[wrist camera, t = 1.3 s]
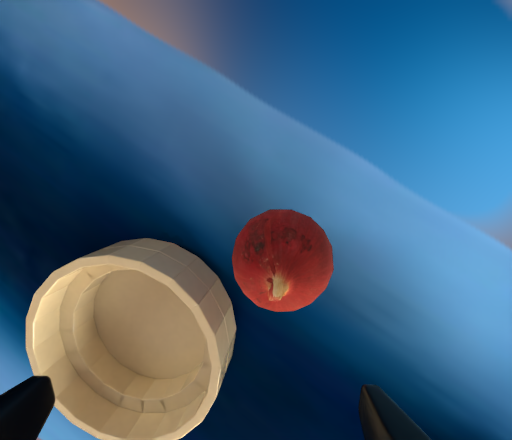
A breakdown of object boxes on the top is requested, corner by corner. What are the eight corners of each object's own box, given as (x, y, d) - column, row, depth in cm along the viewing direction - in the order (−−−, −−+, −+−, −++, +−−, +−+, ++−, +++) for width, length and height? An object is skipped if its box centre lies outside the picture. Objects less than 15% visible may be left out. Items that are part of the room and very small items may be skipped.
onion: (231, 224, 21) (190, 257, 13) (303, 187, 20) (305, 199, 12) (268, 294, 21) (250, 365, 14) (341, 262, 20) (366, 319, 12)
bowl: (249, 255, 21) (234, 281, 16) (224, 408, 24) (205, 470, 19) (84, 222, 23) (25, 237, 18) (77, 369, 25) (25, 417, 20)
